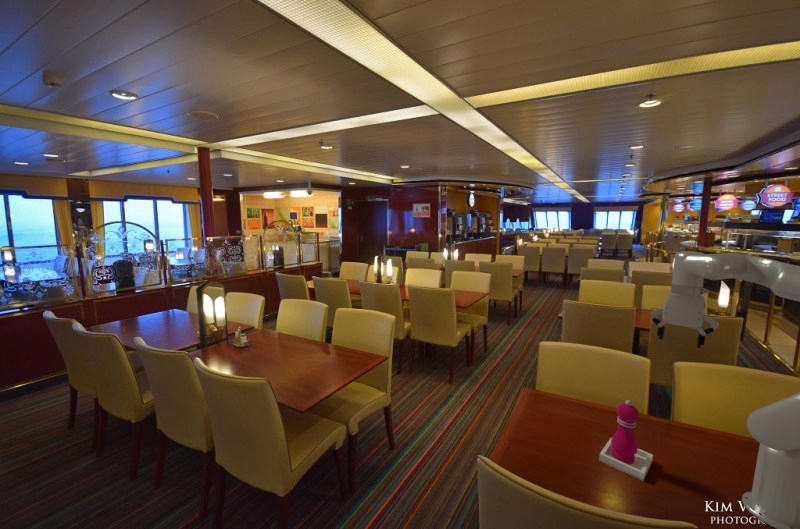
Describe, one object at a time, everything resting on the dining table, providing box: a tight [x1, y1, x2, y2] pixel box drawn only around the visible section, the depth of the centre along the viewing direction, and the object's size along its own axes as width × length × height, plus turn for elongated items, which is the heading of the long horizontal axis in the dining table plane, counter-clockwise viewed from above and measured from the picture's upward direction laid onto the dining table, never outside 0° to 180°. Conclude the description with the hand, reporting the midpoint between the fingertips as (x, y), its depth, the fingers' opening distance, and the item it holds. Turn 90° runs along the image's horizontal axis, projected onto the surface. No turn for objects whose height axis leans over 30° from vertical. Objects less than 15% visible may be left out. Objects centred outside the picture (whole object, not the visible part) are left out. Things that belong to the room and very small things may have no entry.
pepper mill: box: [611, 399, 640, 464], centre depth 111 cm, size 7×7×20 cm
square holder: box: [598, 436, 654, 482], centre depth 111 cm, size 12×12×2 cm
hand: (679, 342), depth 111 cm, fingers open, 9 cm apart
